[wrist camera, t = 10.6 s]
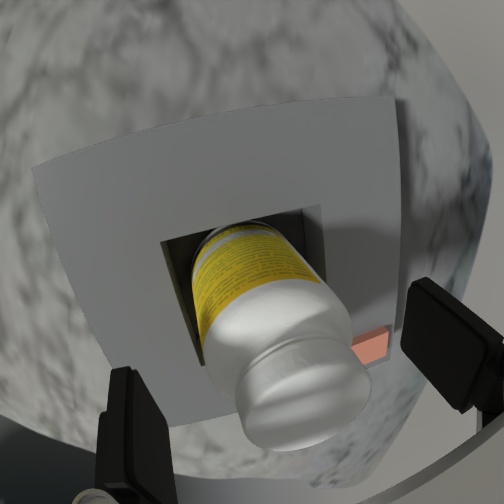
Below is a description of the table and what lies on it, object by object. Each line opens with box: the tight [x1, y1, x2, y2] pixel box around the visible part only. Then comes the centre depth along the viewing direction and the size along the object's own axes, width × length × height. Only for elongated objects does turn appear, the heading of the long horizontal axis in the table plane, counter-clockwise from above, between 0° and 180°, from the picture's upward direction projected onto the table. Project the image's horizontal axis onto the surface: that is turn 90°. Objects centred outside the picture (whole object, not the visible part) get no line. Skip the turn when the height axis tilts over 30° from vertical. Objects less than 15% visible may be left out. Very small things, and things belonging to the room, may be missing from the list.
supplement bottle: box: [191, 220, 372, 451], centre depth 13 cm, size 5×5×10 cm
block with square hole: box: [31, 96, 401, 428], centre depth 16 cm, size 16×16×3 cm
